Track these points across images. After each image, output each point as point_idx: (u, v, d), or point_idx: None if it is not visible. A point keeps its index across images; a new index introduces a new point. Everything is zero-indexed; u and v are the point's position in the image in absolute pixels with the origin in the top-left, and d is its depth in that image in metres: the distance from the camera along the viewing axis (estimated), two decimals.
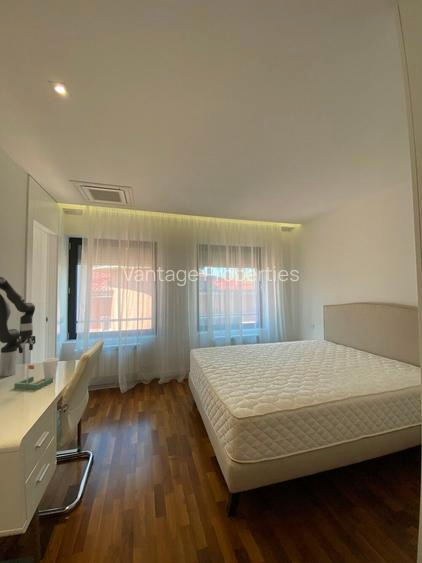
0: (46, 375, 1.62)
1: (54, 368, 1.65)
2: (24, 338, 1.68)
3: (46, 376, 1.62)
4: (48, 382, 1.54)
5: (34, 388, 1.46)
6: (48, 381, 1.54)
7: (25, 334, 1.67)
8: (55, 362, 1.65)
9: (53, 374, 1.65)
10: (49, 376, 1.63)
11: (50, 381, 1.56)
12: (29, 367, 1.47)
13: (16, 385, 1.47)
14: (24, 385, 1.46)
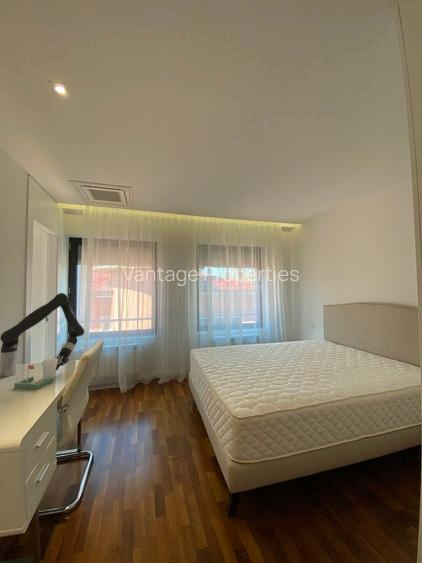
0: (45, 376, 1.61)
1: (53, 368, 1.64)
2: None
3: (45, 377, 1.61)
4: (48, 382, 1.54)
5: (34, 388, 1.46)
6: (48, 381, 1.54)
7: (69, 354, 1.82)
8: (54, 362, 1.64)
9: (52, 374, 1.63)
10: (48, 376, 1.62)
11: (50, 381, 1.56)
12: (29, 367, 1.47)
13: (16, 385, 1.47)
14: (24, 385, 1.46)
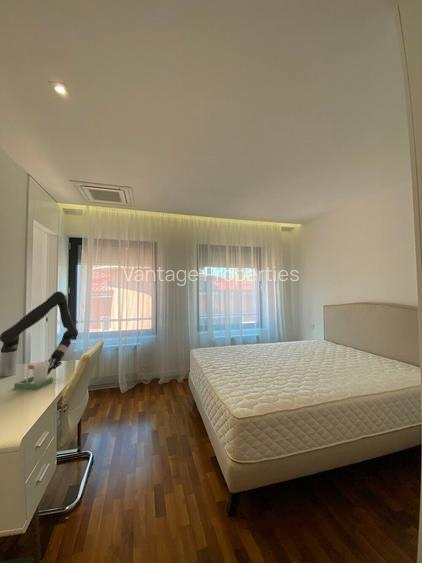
0: (35, 380, 1.53)
1: (44, 372, 1.56)
2: None
3: (36, 381, 1.53)
4: (48, 382, 1.54)
5: (34, 388, 1.46)
6: (48, 381, 1.54)
7: (62, 357, 1.74)
8: (45, 366, 1.56)
9: (43, 379, 1.56)
10: (39, 381, 1.54)
11: (50, 381, 1.56)
12: (29, 367, 1.47)
13: (16, 385, 1.47)
14: (24, 385, 1.46)
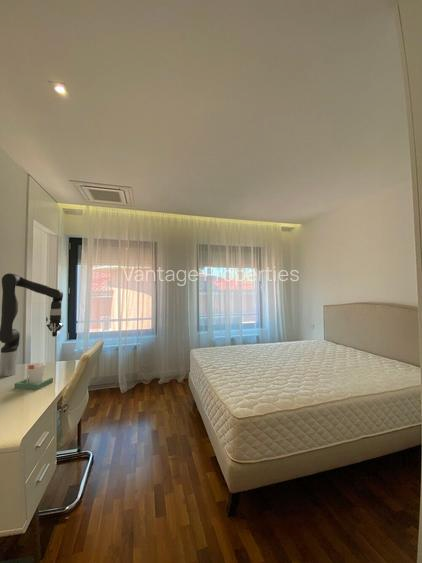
0: (31, 382, 1.50)
1: (40, 374, 1.52)
2: None
3: (31, 383, 1.50)
4: (48, 382, 1.54)
5: (34, 388, 1.46)
6: (48, 381, 1.54)
7: None
8: (41, 368, 1.52)
9: (39, 381, 1.52)
10: (35, 383, 1.50)
11: (50, 381, 1.56)
12: (29, 367, 1.47)
13: (16, 385, 1.47)
14: (24, 385, 1.46)
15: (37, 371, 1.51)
